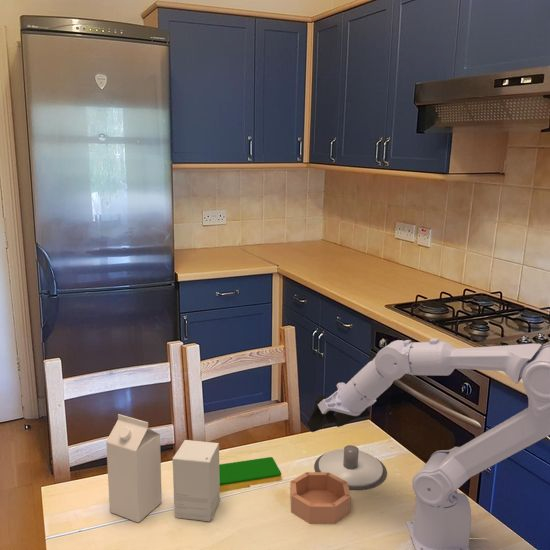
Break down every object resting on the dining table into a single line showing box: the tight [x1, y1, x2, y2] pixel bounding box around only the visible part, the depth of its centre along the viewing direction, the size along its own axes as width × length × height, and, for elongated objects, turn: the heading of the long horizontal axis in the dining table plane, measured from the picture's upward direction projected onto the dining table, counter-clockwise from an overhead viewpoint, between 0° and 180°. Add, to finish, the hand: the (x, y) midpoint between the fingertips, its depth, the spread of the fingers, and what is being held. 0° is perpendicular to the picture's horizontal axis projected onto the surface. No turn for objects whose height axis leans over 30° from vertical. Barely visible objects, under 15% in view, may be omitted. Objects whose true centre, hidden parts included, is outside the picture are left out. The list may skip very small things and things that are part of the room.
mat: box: [313, 452, 388, 491], centre depth 123 cm, size 16×16×1 cm
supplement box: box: [171, 439, 221, 522], centre depth 107 cm, size 7×7×13 cm
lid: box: [319, 444, 383, 487], centre depth 122 cm, size 14×14×5 cm
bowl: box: [289, 471, 352, 525], centre depth 109 cm, size 12×12×4 cm
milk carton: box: [105, 413, 163, 523], centre depth 106 cm, size 7×7×19 cm
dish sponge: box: [219, 456, 282, 493], centre depth 119 cm, size 7×14×2 cm, turn 107°
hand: (323, 425), depth 111 cm, fingers open, 7 cm apart
